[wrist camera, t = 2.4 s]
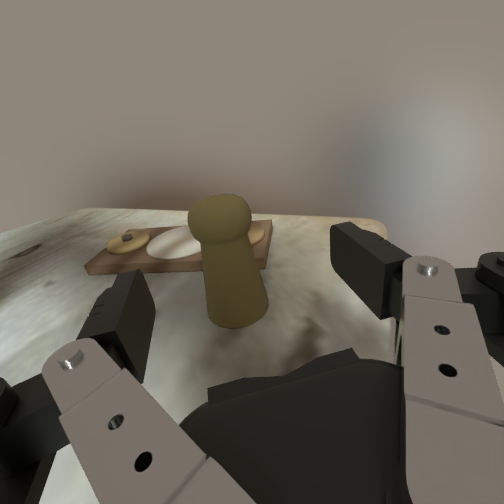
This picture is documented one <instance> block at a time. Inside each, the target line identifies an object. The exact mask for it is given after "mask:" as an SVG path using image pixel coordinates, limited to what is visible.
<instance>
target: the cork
mask: <svg viewBox="0 0 504 504" xmlns="http://www.w3.org/2000/svg"><path fill="white" fill-rule="evenodd" d="M251 219H252V216H251V210H250V208H249V205H248V204H247V202H246V201H245V200H244V199H243V198H242V197H239V196H237V195H233V194H220V195H214V196H209V197H206V198H203V199H201V200H199V201H197V202H196V203H195V204H193V205H192V206H191V208H190V210H189V213H188V225H189V228H190V232H191V234H192V235H193V237H194V238H195V239H196V240H197V241H199V242H200V246H201V255H202V264H203V273H204V282H205V291H206V300H207V309H208V315H209V318H210V319H211V321H212V322H213V323H214V324H216V325H218V326H220V327H224V328H242V327H245V326H248V325H251V324H253V323H254V322H256V321H258V320H259V319H261V317H262V316H263V315H264V314H265V313H266V311H267V309H268V306H269V305H268V298H267V294H266V291H265V288H264V285H263V281H262V278H261V275H260V272H259V268H258V265H257V262H256V259H255V256H254V252H253V249H252V246H251V243H250V239H249V236H248V232H249V230H250V228H251Z"/></svg>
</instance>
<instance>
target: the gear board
mask: <svg viewBox="0 0 504 504" xmlns="http://www.w3.org/2000/svg"><path fill="white" fill-rule="evenodd" d="M272 230H273V227H272V220H260V221H251V228H250V230H249V232H248V236H249V239H250V243H251V246H252V249H253V252H254V256H255V259H256V262H257V265H258V268H259V269H265V267H266V262H267V256H268V251H269V246H270V240H271V235H272ZM84 267H85V269H86V271H87V273H88V275H98V274H119V273H122V272H126V271H131V270H135V269H140V270H141V272H142V273H155V272H183V271H203V264H202V255H201V246H200V242H199V241H197V240H196V239H195V238H194V237H193V235H192V234H191V232H190V228H189V225H187V226H175V227H160V228H146V229H132V230H127V231H126V232H125V233H124V234H121V235H119V236H116V237H114V238H113V239H111V240H110V241H108V242H107V244H106V248H105V249H104V250H102V251H101V252H100V253H99V254H97V255H96V256H95V257H94V258H93V259H91V260H90V261H89V262H88V263H86V264H85V265H84Z"/></svg>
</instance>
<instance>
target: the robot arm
mask: <svg viewBox="0 0 504 504" xmlns="http://www.w3.org/2000/svg"><path fill="white" fill-rule="evenodd" d="M330 259H331V264H332V267H333V269H334V270H335V272H336V273H337V274H338V275H339V276H340V277H341V278H342V279H343V280H344V281H345V283H346V284H347V285H348V286H349V287H350V288H351V289H352V290H353V291H354V292H355V293H356V294H357V296H358V297H359V298H360V299H361V300H362V301H363V302H364V303H365V304H366V305H367V306H368V307H369V309H370V310H371V311H372V312H373V313H374V314H375V315H376V316H377V317H378V318H379V319H380V320H382V319H386V318H390V317H394V318H395V319H396V321H395V333H394V355H393V364H392V363H388V362H385V361H380V360H373V359H359V358H358V356H357V355H356V353H355V352H354V350H353V349H352V348H350V349H346V350H343V351H339V352H335V353H332V354H328V355H325V356H321V357H318V358H316V359H314V360H312V361H311V362H309V363H307V364H305V365H304V366H302V367H300V368H298V369H296V370H295V371H293V372H291V373H289V374H287V375H285V376H275V377H253V378H242V379H239V380H235V381H231V382H228V383H224V384H221V385H217V386H214V387H210V388H208V402H206V403H204V404H203V405H201V406H200V407H198V408H197V409H195V410H194V411H193V412H192V413H191V414H189V415H188V416H187V417H186V418H185V419H184V420H183V421H182V422H181V423H180V424H179V425H178V424H177V423H176V422H175V421H174V420H173V419H172V418H171V417H170V416H169V414H168V413H167V412H166V411H165V410H164V409H163V408H162V407H161V406H160V405H159V404H158V403H157V401H156V400H155V399H154V398H153V397H152V396H151V395H150V394H149V393H148V392H147V391H146V390H145V388H144V387H143V386H142V385H141V384H142V383H143V380H144V375H145V369H146V364H147V358H148V353H149V347H150V342H151V336H152V331H153V325H154V320H155V304H154V301H153V298H152V296H151V293H150V291H149V288H148V286H147V283H146V281H145V278H144V276H143V274H142V272H141V270H140V269H135V270H131V271H126V272H122V273H119V274H118V275H117V277H116V280H115V282H114V284H113V286H112V287H111V288H107V289H106V290H105V291H104V292H103V293H102V294H101V295H100V296H99V297H98V298H97V300H96V302H95V304H94V306H93V309H92V310H91V312H90V314H89V316H88V317H87V319H86V321H85V323H84V325H83V327H82V329H81V331H80V333H79V335H78V337H77V339H76V340H75V341H73V342H70V343H68V344H66V345H65V346H63V347H61V348H60V349H58V350H57V351H56V352H54V353H53V354H52V355H51V356H50V357H49V358H48V359H47V361H46V362H45V364H44V366H43V368H42V373H40V374H38V375H36V376H34V377H32V378H30V379H28V380H26V381H23V382H21V383H19V384H17V385H15V386H13V387H11V386H10V385H9V384H8V383H7V382H6V381H5V380H4V379H3V378H1V377H0V504H39V501H40V498H41V495H42V492H43V490H44V487H45V484H46V481H47V478H48V475H49V472H50V469H51V467H52V464H53V461H54V458H55V455H56V452H57V451H58V450H59V449H61V448H63V447H65V446H66V445H68V444H70V443H71V445H72V447H73V449H74V451H75V453H76V455H77V457H78V460H79V462H80V464H81V466H82V468H83V470H84V472H85V474H86V476H87V478H88V480H89V482H90V484H91V486H92V489H93V491H94V493H95V495H96V497H97V499H98V501H99V503H100V504H504V404H503V401H502V397H501V394H500V391H499V387H498V384H497V380H496V377H495V374H494V370H493V367H492V364H491V360H490V357H489V355H490V356H491V357H493V358H494V359H495V360H496V361H497V362H498V363H500V364H501V365H502V366H503V367H504V252H491V253H486V254H483V255H481V256H480V258H479V261H478V265H477V268H458V269H454V268H453V266H452V265H451V264H450V263H448V262H447V261H444V260H442V259H439V258H435V257H431V256H414V257H412V256H411V255H409V254H407V253H406V252H404V251H403V250H401V249H400V248H398V247H396V246H395V245H393V244H391V243H390V242H389V241H387V240H384V238H382V237H381V236H379V235H378V234H376V233H373V232H370V231H367V230H362V229H361V228H359V227H358V226H356V225H355V224H353V223H352V222H344V223H340V224H336V225H332V226H331V228H330Z"/></svg>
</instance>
